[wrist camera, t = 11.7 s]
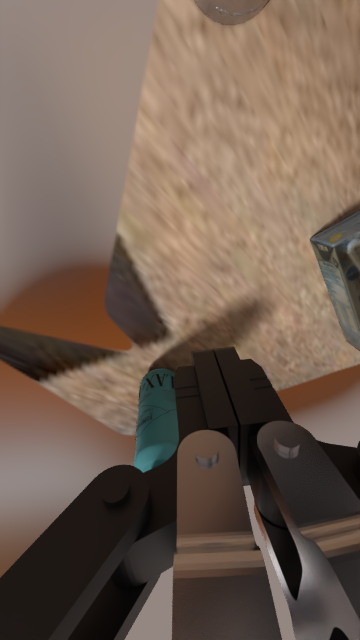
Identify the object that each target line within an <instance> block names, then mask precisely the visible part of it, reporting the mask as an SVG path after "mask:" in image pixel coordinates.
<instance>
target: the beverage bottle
mask: <svg viewBox="0 0 360 640" xmlns="http://www.w3.org/2000/svg"><path fill="white" fill-rule="evenodd" d="M174 375H175V373H174V372H173V371H171V370H168V369H163V368H159V369H154V370H152V371H150V372H148V373H147V374H146V375H145V376H144V377H143V379H142V382H141V383H140V384H141V385H140V387H139V388H140V391H139V398H140V399H138V400H139V413H138V416H137V417H138V424H136V425H138V426H137V428H136V431H137V436H136V437H137V440H136V441H137V443H136V454H135V459H134V467H136V468H138V469H140V470H141V471H142V472H143V473H144V472H146V471H148V470H150V469H152V468H155V467H157V466H159V465H161V464H162V463H164V462H165V461H167V460H168V459H169V458H170V457H171V456H172V455H173V453H174V452H175V450H176V448H177V446H178V442H179V431H178V420H177V409H176V398H175V388H174ZM136 423H137V422H136Z"/></svg>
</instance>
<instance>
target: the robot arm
mask: <svg viewBox="0 0 360 640" xmlns="http://www.w3.org/2000/svg"><path fill="white" fill-rule="evenodd" d="M194 1H195V3H196V4H197V6H198V7H199V8H200V9H201V11H202V12H203V13H204V14H205V15H206V16H208V17H209V18H210V19H212V20H213V21H215V22H218V23H221V24H223V25H237V24H241V23H244V22H246V21H248V20H250V19H252V18H253V17H254V16H255V15H257V14H258V13H259V12H260V11H261V10H262V9H263V7H264V6H265V5H266V4H267V2H268V1H269V0H194ZM191 354H192V366H186V367H179V368H178V370H177V371H176V373H175V375H174V388H175V398H176V409H177V420H178V431H179V442H178V446H177V448H176V450H175V452H174V453H173V455H172V456H171V457H170V458H169V459H168V460H167V461H165V462H164V463H162V464H161V465H159V466H157V467H155V468H152V469H150V470H148V471H146V472H144V473H143V472H142V471H141V470H140V469H138V468H136V467H134V466H131V465H118V466H113V467H111V468H108V469H106V470H105V471H103V472H102V473H100V474H99V475H98V476H97V477H96V478H94V480H93V481H92V482H91V483H90V484H89V485H88V486H87V487H86V488H85V489H84V490H83V491H82V492H81V493H80V494H79V496H77V498H76V499H75V500H74V501H73V502H72V503H71V504H70V505H69V506H68V507H67V508H66V509H65V510H64V511H63V512H62V514H60V515H59V517H58V518H57V519H56V520H55V521H54V522H53V523H52V524H51V525H50V526H49V527H48V528H47V529H46V530H45V531H44V533H42V535H40V537H39V538H38V539H37V540H36V541H35V542H34V543H33V544H32V545H31V546H30V547H29V548H28V549H27V550H26V551H25V552H24V553H23V554H22V556H21V557H20V558H19V559H18V560H17V561H16V562H15V563H14V564H13V565H12V566H11V567H10V568H9V570H7V571H6V573H4V575H3V576H2V577H1V578H0V640H124V639H125V637H126V636H127V634H128V632H129V630H130V629H131V627H132V625H133V623H134V622H135V620H136V618H137V616H138V615H139V613H140V611H141V609H142V607H143V606H144V604H145V602H146V600H147V599H148V597H149V595H150V593H151V592H152V590H153V588H154V586H155V584H156V583H157V581H158V579H159V577H160V574H161V573H162V572H164V571H166V570H167V569H169V568H171V567H172V566H173V601H172V640H282V638H281V634H280V628H279V624H278V619H277V615H276V611H275V606H274V602H273V597H272V593H271V588H270V584H269V580H268V575H267V571H266V566H265V563H264V559H263V556H262V553H261V550H260V548H259V546H257V545H256V542H255V539H254V535H253V531H252V526H251V521H250V516H249V512H248V507H247V502H246V497H245V492H244V488H243V486H247V485H250V486H251V490H252V493H253V496H254V513H255V517H256V520H257V522H258V525H259V528H260V530H261V533H262V536H263V538H264V541H265V544H266V547H267V549H268V552H269V555H270V557H271V560H272V563H273V565H274V568H275V571H276V573H277V576H278V578H279V581H280V584H281V586H282V589H283V592H284V595H285V598H286V600H287V603H288V607H289V610H290V614H291V619H292V626H293V631H294V635H295V638H296V640H360V441H359V443H358V446H357V448H355V447H348V446H341V445H334V444H328V443H324V442H321V441H318V440H316V439H315V438H314V437H313V435H312V434H311V433H310V432H309V431H308V430H306V429H305V428H303V427H301V426H300V425H298V424H295V423H294V422H293V421H292V419H291V417H290V416H289V414H288V412H287V410H286V409H285V407H284V405H283V403H282V402H281V400H280V398H279V396H278V395H277V393H276V391H275V390H274V388H273V387H272V384H271V383H270V381H269V379H267V376H266V374H265V372H264V370H263V369H262V367H261V366H260V365H258V364H257V363H256V362H254V361H253V360H251V359H245V360H240V358H239V356H238V354H237V352H236V350H235V348H234V347H226V348H217V349H213V350H212V349H209V350H200V351H192V353H191Z"/></svg>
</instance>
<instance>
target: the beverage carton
mask: <svg viewBox="0 0 360 640" xmlns="http://www.w3.org/2000/svg"><path fill="white" fill-rule="evenodd" d="M310 241H311V244H312V247H313V250H314V252H315V255H316V258H317V261H318V263H319V266H320V269H321V272H322V275H323V278H324V281H325V283H326V286H327V289H328V292H329V295H330V298H331V301H332V303H333V306H334V309H335V312H336V315H337V317H338V320H339V323H340V325H341V328H342V331H343V333H344V336H345V338H346V341H347V342H348V343H350V344H351V345H352V346H354V347H355V348H356V349H357V350H359V351H360V210H359V211H357V212H356V213H354V214H353V215H351V216H349V217H348V218H346V219H344V220H342V221H341V222H339V223H337V224H335V225H333V226H332V227H330V228H328V229H326V230H324V231H323V232H321V233H319V234H317V235H315V236H313V237H312V238H310Z"/></svg>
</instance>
